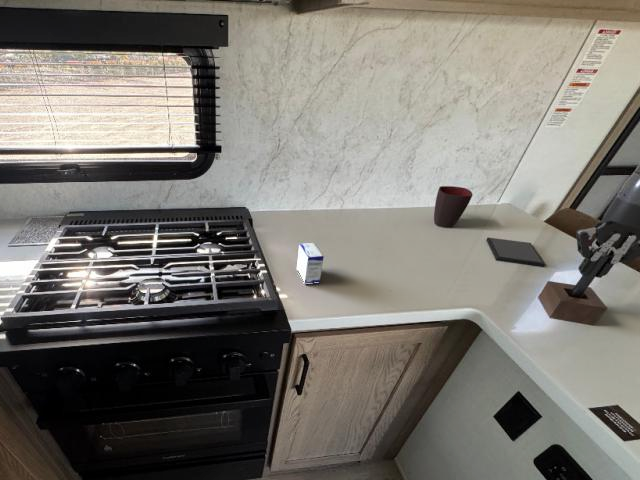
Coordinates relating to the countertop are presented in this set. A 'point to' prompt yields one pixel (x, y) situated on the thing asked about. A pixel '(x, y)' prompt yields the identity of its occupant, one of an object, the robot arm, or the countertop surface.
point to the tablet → (515, 252)
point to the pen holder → (571, 304)
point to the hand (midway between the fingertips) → (589, 274)
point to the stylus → (588, 277)
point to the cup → (450, 205)
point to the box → (309, 262)
